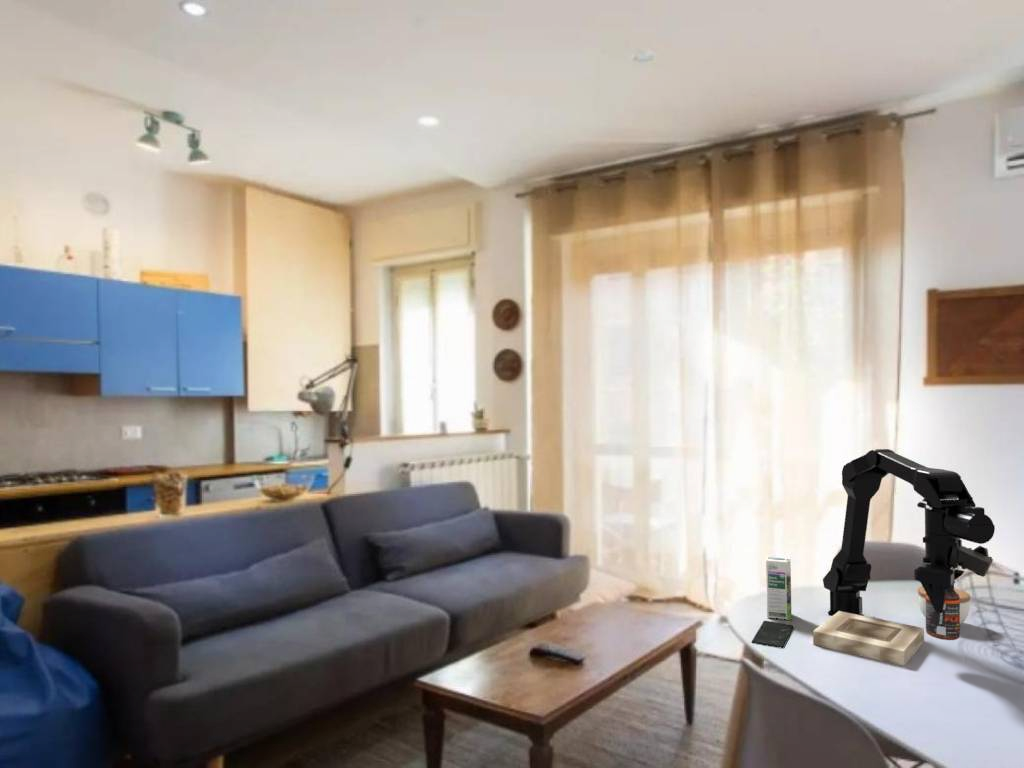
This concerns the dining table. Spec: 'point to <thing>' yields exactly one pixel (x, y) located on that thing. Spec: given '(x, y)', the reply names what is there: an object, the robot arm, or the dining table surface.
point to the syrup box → (778, 587)
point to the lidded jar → (963, 602)
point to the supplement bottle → (944, 617)
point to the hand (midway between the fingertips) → (942, 608)
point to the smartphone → (773, 634)
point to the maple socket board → (869, 637)
